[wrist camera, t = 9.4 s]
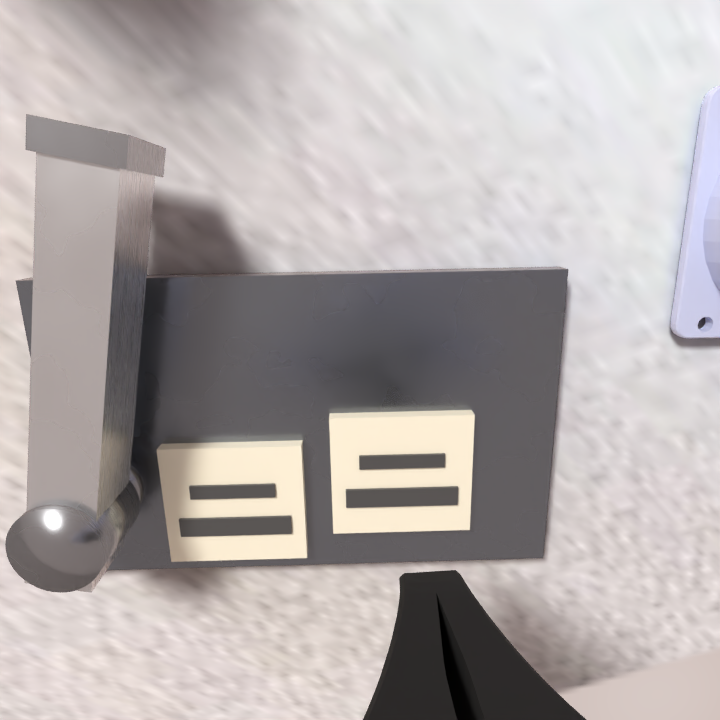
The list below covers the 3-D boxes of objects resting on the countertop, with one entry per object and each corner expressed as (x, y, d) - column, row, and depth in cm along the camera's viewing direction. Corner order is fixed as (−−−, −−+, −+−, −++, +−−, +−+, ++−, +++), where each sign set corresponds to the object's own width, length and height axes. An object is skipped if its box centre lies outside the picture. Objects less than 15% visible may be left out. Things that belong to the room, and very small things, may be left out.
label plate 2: (471, 409, 18) (475, 416, 18) (466, 522, 20) (470, 531, 19) (329, 413, 18) (328, 419, 18) (333, 525, 20) (333, 535, 19)
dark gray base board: (558, 266, 18) (576, 271, 17) (536, 545, 21) (548, 568, 20) (30, 277, 18) (4, 283, 16) (82, 557, 21) (63, 581, 19)
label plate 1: (302, 440, 19) (301, 447, 18) (308, 549, 20) (307, 559, 19) (161, 443, 19) (155, 451, 18) (175, 553, 20) (170, 563, 19)
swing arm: (136, 544, 19) (100, 601, 16) (55, 532, 18) (4, 587, 16) (172, 149, 15) (134, 135, 12) (73, 130, 15) (12, 110, 12)
